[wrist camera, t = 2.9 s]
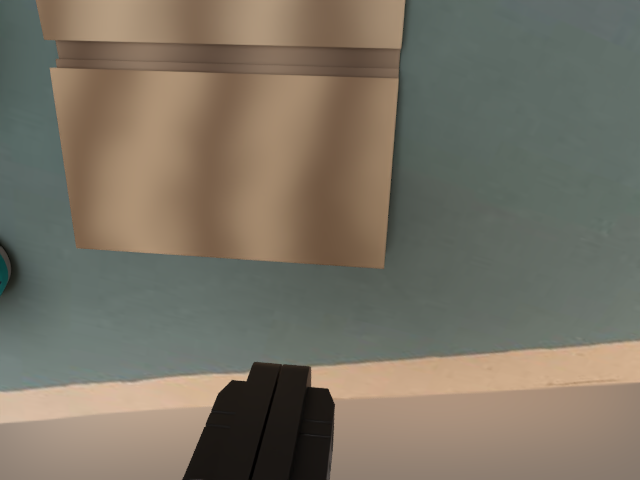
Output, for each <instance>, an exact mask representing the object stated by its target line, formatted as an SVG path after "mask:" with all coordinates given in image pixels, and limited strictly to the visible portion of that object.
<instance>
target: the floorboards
mask: <svg viewBox="0 0 640 480" xmlns="http://www.w3.org/2000/svg"><path fill="white" fill-rule="evenodd" d="M36 3H37V8H38V12H39V17H40V22H41V26H42V31H43V36H44V40H55V41H56V46H57V51H58V55H59V59H77V60H112V61H146V62H181V63H215V64H250V65H284V66H319V67H353V68H388V69H399V59H400V49H401V45H402V33H403V21H404V9H405V0H36Z"/></svg>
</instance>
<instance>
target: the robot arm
mask: <svg viewBox="0 0 640 480" xmlns="http://www.w3.org/2000/svg"><path fill="white" fill-rule="evenodd" d="M334 409H335V404H334V402H333V399H332V397H331V394H330V392H329V389H325V388H314V387H311V367H309V366H297V365H286V364H284V365H283V366H282V364H273V363H261V362H254V363H253V365H252V368H251V370H250V373H249V376H248V379H247V381H236V380H232V381H231V382H230V383H229V384H228V385H227V386H226V387H225V388H224V389H223V390H222V391H221V392H220V393H219V394H218V396H217V398H216V401H215V403H214V405H213V408H212V411H211V413H210V415H209V417H208V420H207V422H206V427H204V429H203V432H202V434H201V437H200V439H199V442H198V444H197V446H196V449H195V451H194V454H193V456H192V458H191V461H190V463H189V466H188V468H187V471H186V473H185V475H184V477H183V479H182V480H330V470H331V460H332V451H333V434H334V432H333V431H334Z"/></svg>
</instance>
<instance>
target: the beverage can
mask: <svg viewBox="0 0 640 480" xmlns="http://www.w3.org/2000/svg"><path fill="white" fill-rule="evenodd" d="M10 275H11V264H10V261H9V258H8V256H7V254H6V252H5V251H4V249H3V248H2V247H1V246H0V296H1V294H2V292H3V291H4V289H5V287H6V285H7V283H8V281H9V279H10Z"/></svg>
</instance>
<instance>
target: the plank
mask: <svg viewBox="0 0 640 480" xmlns="http://www.w3.org/2000/svg"><path fill="white" fill-rule="evenodd" d="M56 64H57V68H50V72H51V79H52V86H53V93H54V99H55V106H56V113H57V120H58V126H59V133H60V140H61V147H62V154H63V160H64V167H65V174H66V181H67V188H68V194H69V201H70V208H71V215H72V221H73V228H74V235H75V242H76V248H83V249H98V250H112V251H127V252H142V253H157V254H172V255H187V256H201V257H216V258H231V259H246V260H261V261H275V262H290V263H305V264H320V265H335V266H350V267H364V268H379V269H384V262H385V249H386V236H387V223H388V210H389V198H390V185H391V172H392V159H393V146H394V133H395V121H396V108H397V95H398V82H399V79H398V75H399V69H387V68H352V67H318V66H283V65H249V64H214V63H180V62H145V61H111V60H76V59H56Z"/></svg>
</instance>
